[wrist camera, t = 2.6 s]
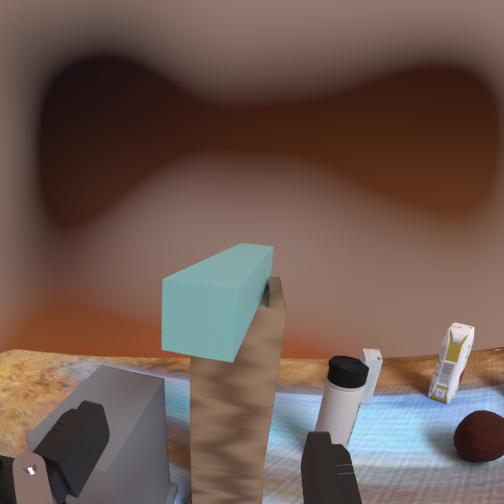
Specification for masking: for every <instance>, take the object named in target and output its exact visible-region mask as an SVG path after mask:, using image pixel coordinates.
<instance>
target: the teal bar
mask: <svg viewBox="0 0 504 504" xmlns="http://www.w3.org/2000/svg"><path fill="white" fill-rule="evenodd" d="M272 255H273V247H272V246H263V245H254V244H244V243H241V244H239V245H236V246H234V247H232V248H230V249H227V250H225V251H223V252H221V253H219V254H217V255H214V256H212V257H210V258H208V259H206V260H204V261H201V262H199V263H197V264H195V265H192V266H190V267H188V268H186V269H184V270H182V271H180V272H177V273H175V274H173V275H171V276H169V277H167V278H164V279H163V293H162V350H167V351H171V352H177V353H181V354H187V355H192V356H197V357H203V358H208V359H214V360H220V361H227V362H233V361H234V359H235V357H236V354H237V352H238V350H239V348H240V346H241V343H242V341H243V339H244V337H245V335H246V332H247V330H248V328H249V326H250V323H251V321H252V319H253V317H254V315H255V312H256V310H257V308H258V306H259V303H260V301H261V299H262V296H263V294H264V292H265V290H266V287H267V285H268V283H269V277H271V267H272Z"/></svg>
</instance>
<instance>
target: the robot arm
mask: <svg viewBox="0 0 504 504" xmlns="http://www.w3.org/2000/svg"><path fill="white" fill-rule="evenodd" d="M109 437H110V431H109V427H108V423H107V419H106V415H105V411H104V407H103V406H102V405H101V404H98V403H94V402H91V401H87V400H84V401H82V402H81V404H80V405H79V406H78V408H77V409H73V408H72V409H70V410H68V411H67V412H65V413H63V414H62V415H61V416H60V418H59V419H58V420H57V421H56V424H54V425H53V427H52V428H51V430H49V432H48V433H47V434H46V436H45V437H44V438H43V439H42V441H41V442H40V443H39V445H38V446H37V447H36V448H35V450H34V451H33V452H32V453H31V452H27V453H22V454H20V455H18V456H17V457H16V458H11V457H6V456H1V455H0V504H68V502H67V500H66V497H67V495H71V496H73V497H75V498H78V497H79V495H80V493H81V491H82V489H83V487H84V486H85V484H86V482H87V480H88V478H89V477H90V475H91V473H92V471H93V469H94V467H95V466H96V464H97V462H98V460H99V458H100V457H101V455H102V453H103V451H104V450H105V448H106V446H107V444H108V442H109ZM301 475H302V486H303V498H304V504H362V502H361V497H360V493H359V489H358V485H357V481H356V477H355V474H354V469H353V465H352V461H351V457H350V453H349V452H348V451H347V450H346V448H345V447H344V446H343V445H342V444H332V441H331V436H330V433H329V432H328V431H321V432H309V433H308V436H307V440H306V444H305V447H304V451H303V455H302V460H301Z"/></svg>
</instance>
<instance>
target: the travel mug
mask: <svg viewBox="0 0 504 504" xmlns="http://www.w3.org/2000/svg"><path fill="white" fill-rule="evenodd" d="M368 372H369V367H368V366H367V365H365V364H364V363H362V361H360V360H358V359H356V358H352V357H348V356H334V357H332V358H331V360H329V372H328V375H327V380H326V384H325V388H324V393H323V398H322V402H321V407H320V411H319V415H318V419H317V424H316V428H315V432H321V431H328V432H329V433H330V436H331V441H332V444H342V445H343V446H344V447H345V448H346V449H347V446H348V443H349V440H350V437H351V434H352V431H353V428H354V424H355V421H356V418H357V414H358V411H359V408H360V404H361V401H362V397H363V393H364V390H365V386H366V380H367V377H368Z"/></svg>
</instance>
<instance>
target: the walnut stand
mask: <svg viewBox="0 0 504 504" xmlns="http://www.w3.org/2000/svg"><path fill="white" fill-rule="evenodd" d="M285 316H286V306H285V301H284V295H283V290H282V285H281V280H280V278H279V277H269V284H268V285H267V287H266V290H265V292H264V294H263V296H262V299H261V301H260V303H259V306H258V308H257V310H256V312H255V315H254V317H253V319H252V321H251V323H250V326H249V328H248V330H247V332H246V335H245V337H244V339H243V341H242V343H241V346H240V348H239V350H238V352H237V354H236V357H235V359H234V361H233V362H227V361H220V360H214V359H208V358H203V357H197V356H192V355H191V370H190V450H191V485H192V488H191V492H190V495H189V499H188V502H187V504H262V492H263V466H264V461H265V455H266V449H267V443H268V436H269V430H270V424H271V418H272V411H273V404H274V398H275V391H276V384H277V377H278V370H279V362H280V355H281V348H282V347H281V346H282V340H283V332H284V323H285Z"/></svg>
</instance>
